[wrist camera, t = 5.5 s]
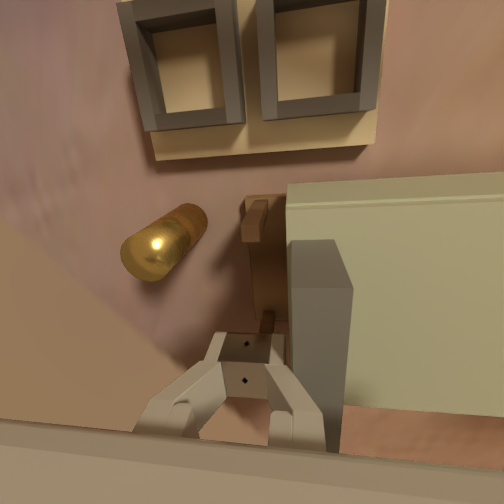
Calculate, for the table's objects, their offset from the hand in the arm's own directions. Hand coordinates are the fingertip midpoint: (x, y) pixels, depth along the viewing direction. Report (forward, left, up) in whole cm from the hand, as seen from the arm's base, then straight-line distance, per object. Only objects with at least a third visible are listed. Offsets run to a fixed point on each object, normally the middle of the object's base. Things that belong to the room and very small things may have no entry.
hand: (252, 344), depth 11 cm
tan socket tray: (+11, 0, -8) cm, 14 cm away
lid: (0, -9, -6) cm, 11 cm away
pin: (+3, +5, -8) cm, 10 cm away
